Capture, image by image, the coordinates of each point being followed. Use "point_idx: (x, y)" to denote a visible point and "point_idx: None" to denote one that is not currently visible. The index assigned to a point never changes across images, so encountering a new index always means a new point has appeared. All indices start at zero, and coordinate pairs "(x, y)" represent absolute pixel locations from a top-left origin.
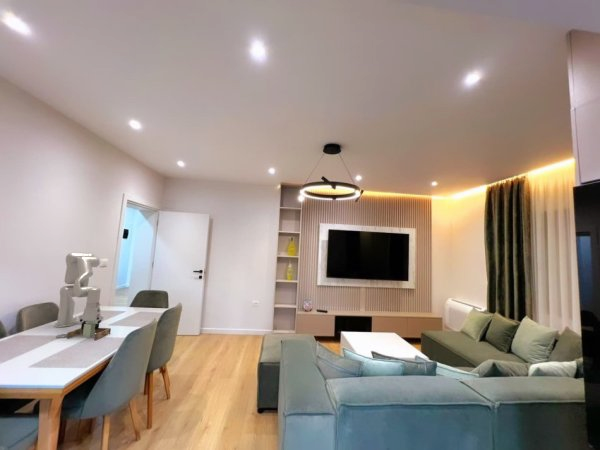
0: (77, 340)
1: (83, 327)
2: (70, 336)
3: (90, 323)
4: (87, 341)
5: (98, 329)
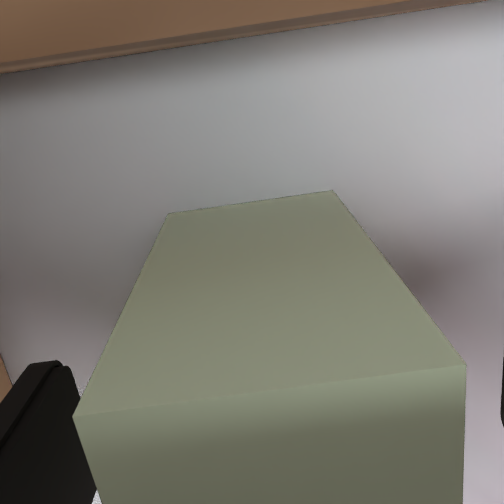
0: None
1: (78, 457)
2: None
3: (257, 497)
4: (463, 482)
5: (308, 18)
